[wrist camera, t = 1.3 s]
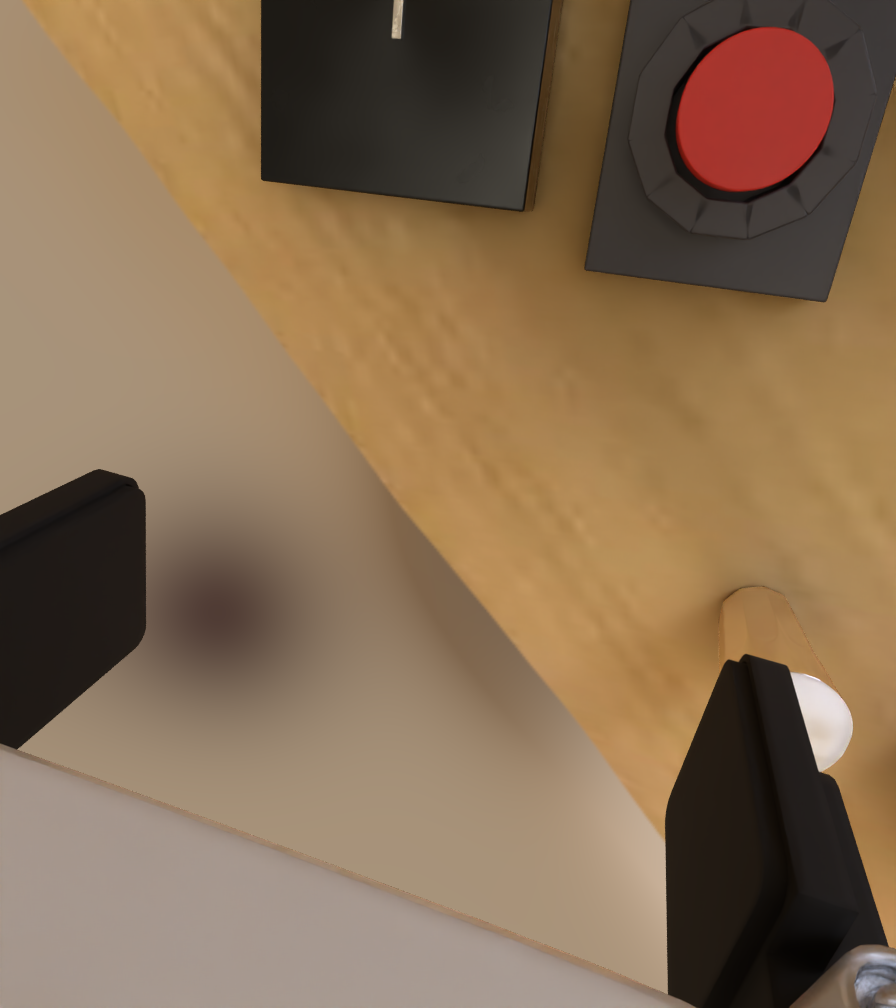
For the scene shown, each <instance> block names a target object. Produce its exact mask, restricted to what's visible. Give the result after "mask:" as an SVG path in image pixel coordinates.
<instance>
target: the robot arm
mask: <svg viewBox="0 0 896 1008" xmlns="http://www.w3.org/2000/svg"><path fill="white" fill-rule="evenodd" d="M145 505H146V502H145V495H144V493H143V491H141V490H140V489H139V487H138V485H137V482H136V481H135V480H134V479H133V478H129V477H126V476H123V475H119V474H115V473H112V472H109V471H105V470H101V469H98V470H94V471H92V472H90V473H87V474H85V475H83V476H81V477H79V478H77V479H75V480H73V481H71V482H69V483H67V484H64V485H62V486H60V487H58V488H56V489H54V490H52V491H50V492H48V493H46V494H43V495H41V496H39V497H37V498H35V499H33V500H31V501H29V502H27V503H25V504H22V505H20V506H18V507H16V508H14V509H12V510H10V511H8V512H6V513H4V514H1V515H0V1008H896V949H894V948H890V947H889V946H888V943H887V939H886V936H885V933H884V930H883V927H882V924H881V920H880V917H879V914H878V911H877V908H876V904H875V901H874V898H873V895H872V892H871V889H870V885H869V882H868V879H867V876H866V873H865V869H864V866H863V863H862V860H861V857H860V854H859V850H858V847H857V844H856V841H855V838H854V834H853V831H852V828H851V825H850V822H849V819H848V815H847V812H846V809H845V806H844V803H843V799H842V796H841V793H840V790H839V787H838V785H837V783H836V781H835V779H834V778H832V777H831V776H830V775H828V774H824V773H821V772H819V771H818V767H817V764H816V760H815V757H814V753H813V750H812V746H811V743H810V739H809V736H808V733H807V729H806V726H805V722H804V719H803V715H802V712H801V708H800V705H799V701H798V698H797V694H796V691H795V687H794V684H793V680H792V677H791V673H790V670H789V668H788V666H786V665H784V664H781V663H777V662H774V661H770V660H767V659H763V658H760V657H756V656H753V655H749V654H744V655H743V656H742V657H741V659H740V660H739V662H737V661H734V660H730V659H728V660H727V661H726V662H725V663H724V665H723V667H722V670H721V672H720V675H719V677H718V679H717V682H716V684H715V687H714V689H713V692H712V694H711V697H710V699H709V702H708V704H707V706H706V709H705V711H704V714H703V716H702V719H701V721H700V724H699V726H698V728H697V731H696V733H695V736H694V738H693V741H692V743H691V746H690V748H689V750H688V753H687V755H686V758H685V760H684V763H683V765H682V768H681V770H680V773H679V775H678V777H677V780H676V782H675V785H674V787H673V790H672V792H671V795H670V798H669V801H668V805H667V810H666V817H665V841H666V895H667V896H666V901H667V957H668V958H667V960H668V961H667V963H668V994H665V993H663V992H661V991H658V990H656V989H653V988H651V987H649V986H646V985H644V984H641V983H639V982H637V981H634V980H632V979H630V978H627V977H625V976H623V975H621V974H618V973H616V972H613V971H611V970H608V969H606V968H604V967H601V966H599V965H596V964H593V963H591V962H589V961H586V960H584V959H581V958H579V957H576V956H573V955H571V954H569V953H566V952H563V951H560V950H558V949H555V948H553V947H550V946H547V945H545V944H542V943H539V942H537V941H534V940H531V939H529V938H526V937H523V936H521V935H518V934H516V933H513V932H511V931H508V930H506V929H503V928H501V927H498V926H496V925H493V924H490V923H488V922H485V921H482V920H480V919H477V918H474V917H472V916H469V915H466V914H464V913H461V912H458V911H455V910H453V909H450V908H448V907H445V906H442V905H439V904H437V903H434V902H431V901H429V900H426V899H423V898H421V897H418V896H415V895H412V894H410V893H407V892H404V891H402V890H399V889H397V888H394V887H391V886H388V885H386V884H383V883H380V882H378V881H375V880H372V879H370V878H367V877H364V876H362V875H359V874H356V873H353V872H351V871H348V870H345V869H343V868H340V867H337V866H335V865H332V864H329V863H327V862H324V861H321V860H319V859H316V858H313V857H311V856H308V855H305V854H303V853H300V852H297V851H294V850H292V849H289V848H286V847H283V846H281V845H278V844H275V843H273V842H270V841H267V840H264V839H262V838H259V837H256V836H253V835H251V834H248V833H245V832H243V831H240V830H237V829H234V828H232V827H229V826H226V825H223V824H221V823H218V822H215V821H213V820H210V819H207V818H204V817H202V816H199V815H196V814H193V813H190V812H188V811H185V810H182V809H180V808H177V807H174V806H171V805H169V804H166V803H163V802H161V801H158V800H155V799H152V798H150V797H147V796H144V795H141V794H139V793H136V792H133V791H130V790H128V789H125V788H121V787H119V786H117V785H114V784H111V783H108V782H106V781H103V780H100V779H97V778H95V777H92V776H89V775H86V774H84V773H81V772H78V771H75V770H72V769H69V768H67V767H64V766H61V765H58V764H56V763H53V762H50V761H47V760H44V759H42V758H39V757H36V756H33V755H30V754H28V753H25V752H22V751H19V750H17V749H18V748H19V747H21V746H22V745H23V744H24V743H25V742H26V741H28V740H29V739H30V738H31V737H32V736H33V735H35V734H36V733H37V732H38V731H39V730H40V729H42V728H43V727H44V726H45V725H46V724H47V723H49V722H50V721H51V720H52V719H53V718H54V717H56V716H57V715H58V714H59V713H60V712H61V711H63V710H64V709H65V708H66V707H67V706H68V705H70V704H71V703H72V702H73V701H74V700H75V699H77V698H78V697H79V696H80V695H81V694H82V693H83V692H85V691H86V690H87V689H88V688H89V687H91V686H92V685H93V684H94V683H95V682H96V681H98V680H99V679H100V678H101V677H102V676H104V675H105V673H107V672H108V671H109V670H111V669H112V668H113V667H114V666H115V665H116V664H118V663H119V662H120V661H121V660H122V659H123V658H124V657H125V656H127V655H128V654H129V653H130V652H132V651H133V650H134V649H135V648H136V647H137V646H138V645H139V643H140V641H141V640H142V638H143V636H144V633H145V629H146V522H145V521H146V518H145V517H146V506H145Z"/></svg>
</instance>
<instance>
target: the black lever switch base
mask: <svg viewBox="0 0 896 1008" xmlns="http://www.w3.org/2000/svg"><path fill="white" fill-rule="evenodd" d="M562 4H563V0H261V179H262V180H263V181H269V182H277V183H286V184H294V185H302V186H311V187H319V188H327V189H336V190H344V191H352V192H361V193H369V194H377V195H386V196H394V197H402V198H411V199H419V200H427V201H436V202H444V203H452V204H461V205H469V206H477V207H486V208H494V209H502V210H511V211H519V212H528V211H533V209H534V203H535V196H536V188H537V181H538V174H539V167H540V160H541V153H542V146H543V139H544V132H545V125H546V117H547V110H548V103H549V96H550V89H551V82H552V75H553V68H554V61H555V53H556V46H557V39H558V32H559V25H560V18H561V11H562Z"/></svg>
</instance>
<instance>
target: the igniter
mask: <svg viewBox="0 0 896 1008" xmlns="http://www.w3.org/2000/svg"><path fill="white" fill-rule="evenodd" d="M760 27H778V28H785V29H788V30H791V31H794V32H796V33H798V34H800V35H802V36H804V37H805V38H807V39H808V40H810V41H811V42H812V43H813V44H814V45H815V46H816V47H817V48H818V49H819V51H820V52H821V53H822V55H823V56H824V58H825V60H826V62H827V64H828V66H829V69H830V72H831V75H832V80H833V86H834V103H833V110H832V115H831V119H830V122H829V125H828V128H827V131H826V133H825V135H824V137H823V139H822V141H821V142H820V144H819V146H818V147H817V149H816V150H815V152H814V153H813V154H812V155H811V157H810V158H809V159H808V160H807V161H806V162H805V163H804V164H803V165H802V166H801V167H800V168H799V169H798V170H796V171H795V172H794V173H793V174H791V175H790V176H788V177H787V178H785V179H784V180H782V181H780V182H778V183H776V184H774V185H771V186H768V187H765V188H762V189H757V190H752V191H744V192H727V191H721V190H718V189H715V188H712V187H710V186H708V185H706V184H704V183H702V182H701V181H700V180H698V179H697V178H696V177H695V176H694V175H693V174H692V173H691V172H690V171H689V169H688V168H687V167H686V165H685V163H684V162H683V160H682V158H681V155H680V153H679V150H678V146H677V141H676V118H677V112H678V108H679V104H680V100H681V96H682V93H683V91H684V88H685V86H686V84H687V82H688V80H689V78H690V76H691V74H692V73H693V71H694V70H695V68H696V67H697V65H698V64H699V63H700V62H701V61H702V59H703V58H704V57H705V56H706V55H707V54H708V53H709V52H710V51H711V50H712V49H713V48H715V47H716V46H717V45H719V44H720V43H721V42H723V41H725V40H726V39H728V38H730V37H731V36H733V35H736V34H738V33H740V32H743V31H746V30H750V29H753V28H760ZM895 77H896V0H630V6H629V11H628V17H627V23H626V29H625V35H624V40H623V46H622V52H621V58H620V64H619V70H618V75H617V81H616V87H615V93H614V99H613V104H612V110H611V116H610V122H609V128H608V133H607V139H606V145H605V151H604V157H603V162H602V168H601V174H600V180H599V186H598V192H597V197H596V203H595V209H594V215H593V221H592V226H591V232H590V238H589V244H588V250H587V255H586V261H585V267H584V268H585V270H586V271H593V272H601V273H608V274H616V275H623V276H631V277H638V278H646V279H653V280H661V281H668V282H676V283H683V284H690V285H698V286H705V287H713V288H720V289H728V290H735V291H743V292H750V293H758V294H765V295H773V296H780V297H788V298H795V299H803V300H810V301H818V302H826V301H827V299H828V295H829V292H830V289H831V286H832V282H833V279H834V276H835V273H836V269H837V266H838V263H839V260H840V256H841V253H842V250H843V247H844V243H845V240H846V237H847V233H848V230H849V227H850V224H851V220H852V217H853V214H854V211H855V207H856V204H857V201H858V198H859V194H860V191H861V188H862V184H863V181H864V178H865V175H866V171H867V168H868V165H869V162H870V158H871V155H872V152H873V149H874V145H875V142H876V139H877V136H878V132H879V129H880V126H881V122H882V119H883V116H884V113H885V109H886V106H887V103H888V100H889V96H890V93H891V90H892V87H893V83H894V80H895Z"/></svg>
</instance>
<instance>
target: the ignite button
mask: <svg viewBox="0 0 896 1008" xmlns="http://www.w3.org/2000/svg"><path fill="white" fill-rule="evenodd" d="M833 103H834V86H833V80H832V75H831V72H830V69H829V66H828V64H827V62H826V60H825V58H824V56H823V55H822V53H821V52H820V51H819V49H818V48H817V47H816V46H815V45H814V44H813V43H812V42H811V41H810V40H808V39H807V38H805V37H804V36H802V35H800V34H798V33H796V32H794V31H791V30H788V29H785V28H778V27H760V28H753V29H750V30H746V31H743V32H740V33H738V34H736V35H733V36H731V37H730V38H728V39H726V40H725V41H723V42H721V43H720V44H719V45H717V46H716V47H715V48H713V49H712V50H711V51H710V52H709V53H708V54H707V55H706V56H705V57H704V58H703V59H702V61H701V62H700V63H699V64H698V65H697V67H696V68H695V70H694V71H693V73H692V74H691V76H690V78H689V80H688V82H687V84H686V86H685V88H684V91H683V93H682V96H681V100H680V104H679V108H678V112H677V118H676V141H677V146H678V150H679V153H680V155H681V158H682V160H683V162H684V163H685V165H686V167H687V168H688V169H689V171H690V172H691V173H692V174H693V175H694V176H695V177H696V178H697V179H698V180H700V181H701V182H702V183H704V184H706V185H708V186H710V187H712V188H715V189H718V190H721V191H727V192H744V191H752V190H757V189H762V188H765V187H768V186H771V185H774V184H776V183H778V182H780V181H782V180H784V179H785V178H787V177H788V176H790V175H791V174H793V173H794V172H795V171H796V170H798V169H799V168H800V167H801V166H802V165H803V164H804V163H805V162H806V161H807V160H808V159H809V158H810V157H811V155H812V154H813V153H814V152H815V150H816V149H817V147H818V146H819V144H820V142H821V141H822V139H823V137H824V135H825V133H826V131H827V128H828V125H829V122H830V119H831V115H832V110H833Z"/></svg>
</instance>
